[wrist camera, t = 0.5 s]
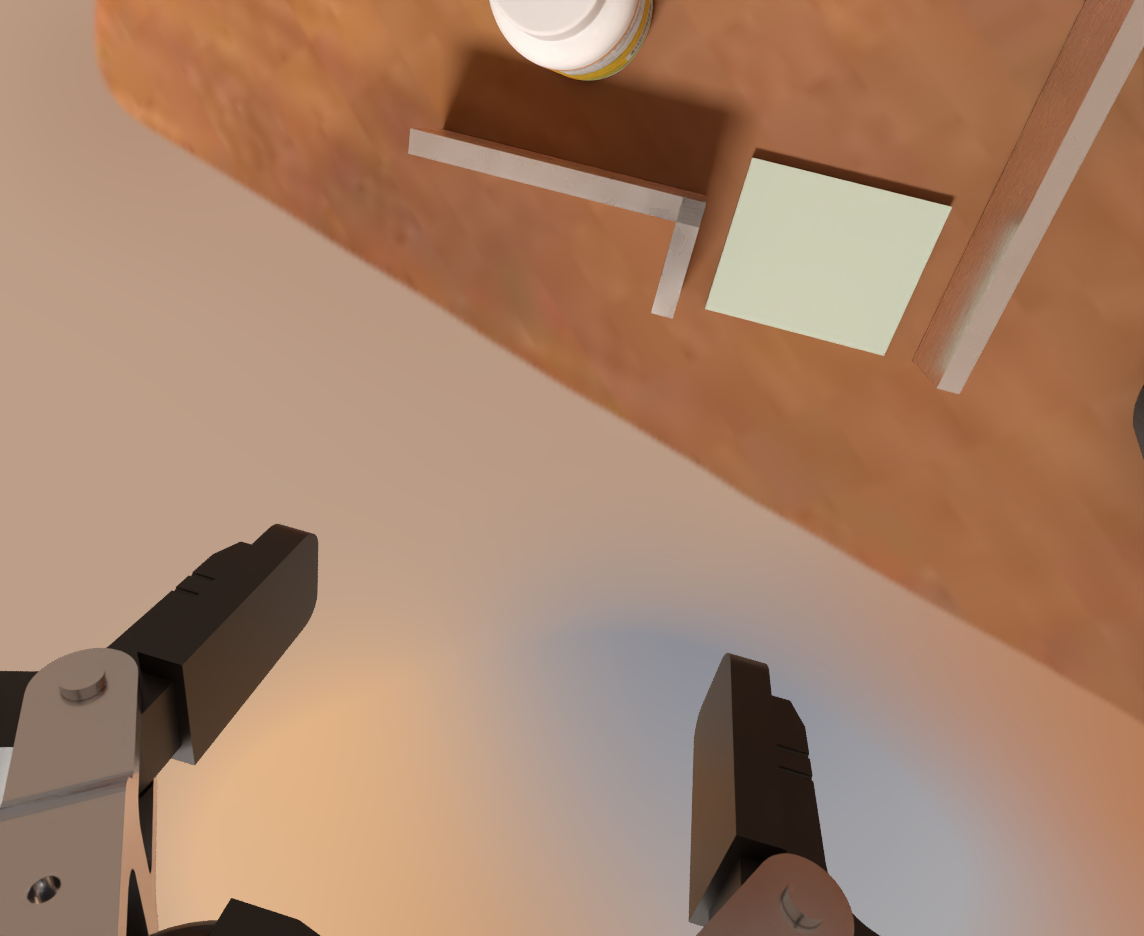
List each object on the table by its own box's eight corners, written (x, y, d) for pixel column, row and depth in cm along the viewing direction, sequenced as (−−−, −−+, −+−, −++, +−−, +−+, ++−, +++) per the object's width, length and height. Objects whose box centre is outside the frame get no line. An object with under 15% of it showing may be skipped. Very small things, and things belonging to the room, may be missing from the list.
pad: (751, 157, 30) (752, 157, 30) (949, 206, 30) (952, 207, 30) (704, 307, 34) (705, 308, 33) (881, 353, 33) (883, 355, 33)
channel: (483, -237, 26) (448, -295, 23) (1159, -89, 25) (1234, -127, 21) (430, 235, 35) (399, 246, 31) (932, 366, 33) (959, 394, 30)
